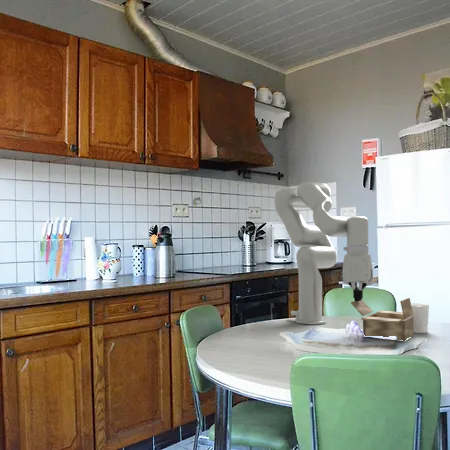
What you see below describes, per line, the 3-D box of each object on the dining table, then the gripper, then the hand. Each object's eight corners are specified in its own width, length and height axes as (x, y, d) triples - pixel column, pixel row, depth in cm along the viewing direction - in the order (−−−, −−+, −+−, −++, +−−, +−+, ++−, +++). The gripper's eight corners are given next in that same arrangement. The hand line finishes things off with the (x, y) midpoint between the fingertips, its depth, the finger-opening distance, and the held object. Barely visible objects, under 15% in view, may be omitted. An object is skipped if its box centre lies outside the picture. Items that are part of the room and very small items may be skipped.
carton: (358, 339, 161) (358, 317, 161) (377, 330, 179) (377, 310, 180) (400, 344, 153) (400, 321, 154) (416, 334, 171) (416, 313, 172)
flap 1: (362, 315, 166) (350, 303, 169) (372, 312, 175) (360, 300, 178) (363, 314, 166) (351, 302, 169) (373, 311, 175) (361, 299, 178)
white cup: (431, 334, 172) (431, 306, 173) (408, 333, 174) (408, 305, 174) (426, 330, 180) (426, 303, 180) (404, 329, 182) (404, 303, 182)
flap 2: (404, 319, 158) (400, 301, 159) (412, 315, 167) (408, 298, 168) (405, 318, 158) (401, 301, 159) (413, 314, 167) (409, 297, 168)
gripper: (334, 250, 175) (334, 300, 174) (375, 250, 166) (375, 303, 165) (341, 250, 181) (342, 298, 180) (381, 250, 172) (381, 301, 172)
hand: (358, 300), depth 173 cm, fingers closed
